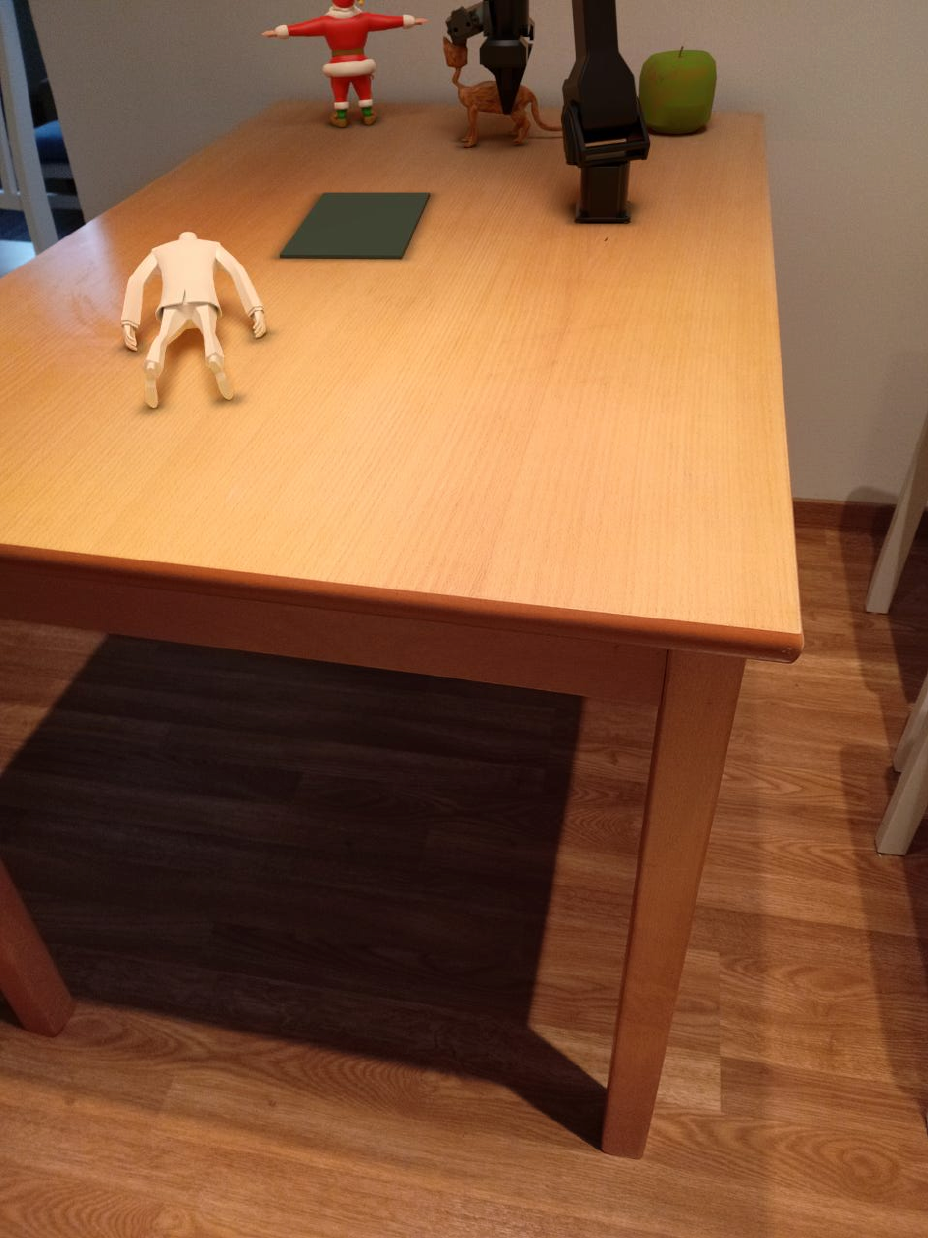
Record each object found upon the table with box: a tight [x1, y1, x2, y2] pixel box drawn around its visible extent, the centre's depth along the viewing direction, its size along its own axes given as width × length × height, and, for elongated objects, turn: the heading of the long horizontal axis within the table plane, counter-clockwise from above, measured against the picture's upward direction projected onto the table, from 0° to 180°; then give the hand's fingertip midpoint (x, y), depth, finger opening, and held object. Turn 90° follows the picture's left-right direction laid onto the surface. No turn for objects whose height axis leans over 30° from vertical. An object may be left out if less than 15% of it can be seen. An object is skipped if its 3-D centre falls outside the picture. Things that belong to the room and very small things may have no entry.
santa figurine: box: [261, 0, 429, 129], centre depth 148 cm, size 25×6×19 cm, turn 103°
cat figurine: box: [442, 35, 562, 148], centre depth 139 cm, size 18×7×14 cm, turn 94°
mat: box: [279, 192, 431, 260], centre depth 118 cm, size 22×14×1 cm, turn 173°
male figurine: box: [120, 231, 267, 409], centre depth 92 cm, size 14×6×25 cm
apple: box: [638, 45, 718, 135], centre depth 142 cm, size 11×11×11 cm
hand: (508, 107), depth 141 cm, fingers closed on cat figurine, 6 cm apart
